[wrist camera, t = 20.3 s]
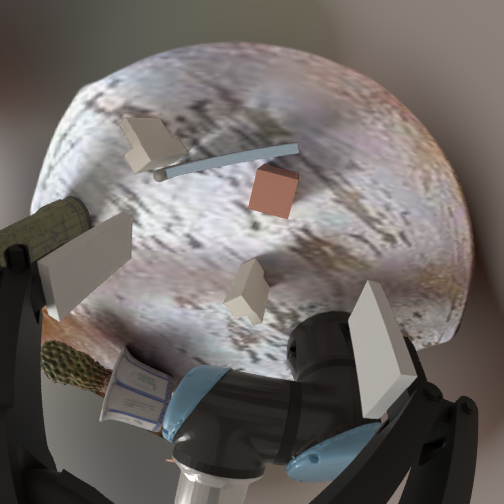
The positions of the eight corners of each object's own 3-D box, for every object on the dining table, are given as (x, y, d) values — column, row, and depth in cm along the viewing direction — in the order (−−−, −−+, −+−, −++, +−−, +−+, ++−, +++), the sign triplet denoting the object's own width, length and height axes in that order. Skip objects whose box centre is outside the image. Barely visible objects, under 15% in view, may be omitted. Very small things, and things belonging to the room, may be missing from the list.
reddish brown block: (264, 163, 34) (257, 169, 28) (298, 173, 34) (298, 180, 28) (256, 196, 36) (248, 208, 30) (289, 206, 35) (287, 219, 30)
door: (297, 140, 31) (296, 141, 25) (299, 151, 32) (299, 155, 25) (179, 163, 35) (152, 171, 28) (181, 173, 35) (154, 183, 29)
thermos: (100, 210, 40) (-78, 326, 9) (80, 256, 45) (-54, 369, 13) (70, 179, 39) (-102, 263, 7) (53, 226, 44) (-82, 318, 12)
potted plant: (173, 426, 38) (16, 361, 30) (156, 447, 47) (34, 399, 39) (184, 349, 53) (53, 297, 45) (165, 385, 61) (58, 343, 54)
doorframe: (273, 285, 40) (265, 328, 31) (259, 291, 41) (247, 334, 32) (163, 115, 33) (121, 113, 24) (150, 126, 34) (107, 128, 25)
